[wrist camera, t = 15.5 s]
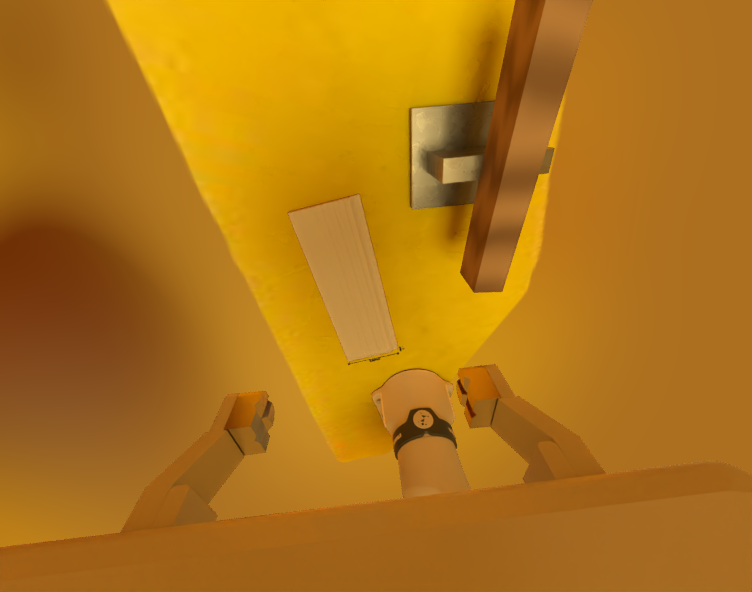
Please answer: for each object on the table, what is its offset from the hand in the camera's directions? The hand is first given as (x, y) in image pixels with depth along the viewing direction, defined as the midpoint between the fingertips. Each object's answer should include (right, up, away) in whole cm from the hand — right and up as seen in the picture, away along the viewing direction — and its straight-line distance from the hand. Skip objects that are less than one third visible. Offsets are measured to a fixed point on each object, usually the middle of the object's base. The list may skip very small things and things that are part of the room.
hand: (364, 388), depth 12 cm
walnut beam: (+14, +18, +18) cm, 29 cm away
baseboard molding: (-3, +5, +37) cm, 37 cm away
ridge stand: (+13, +23, +26) cm, 37 cm away
